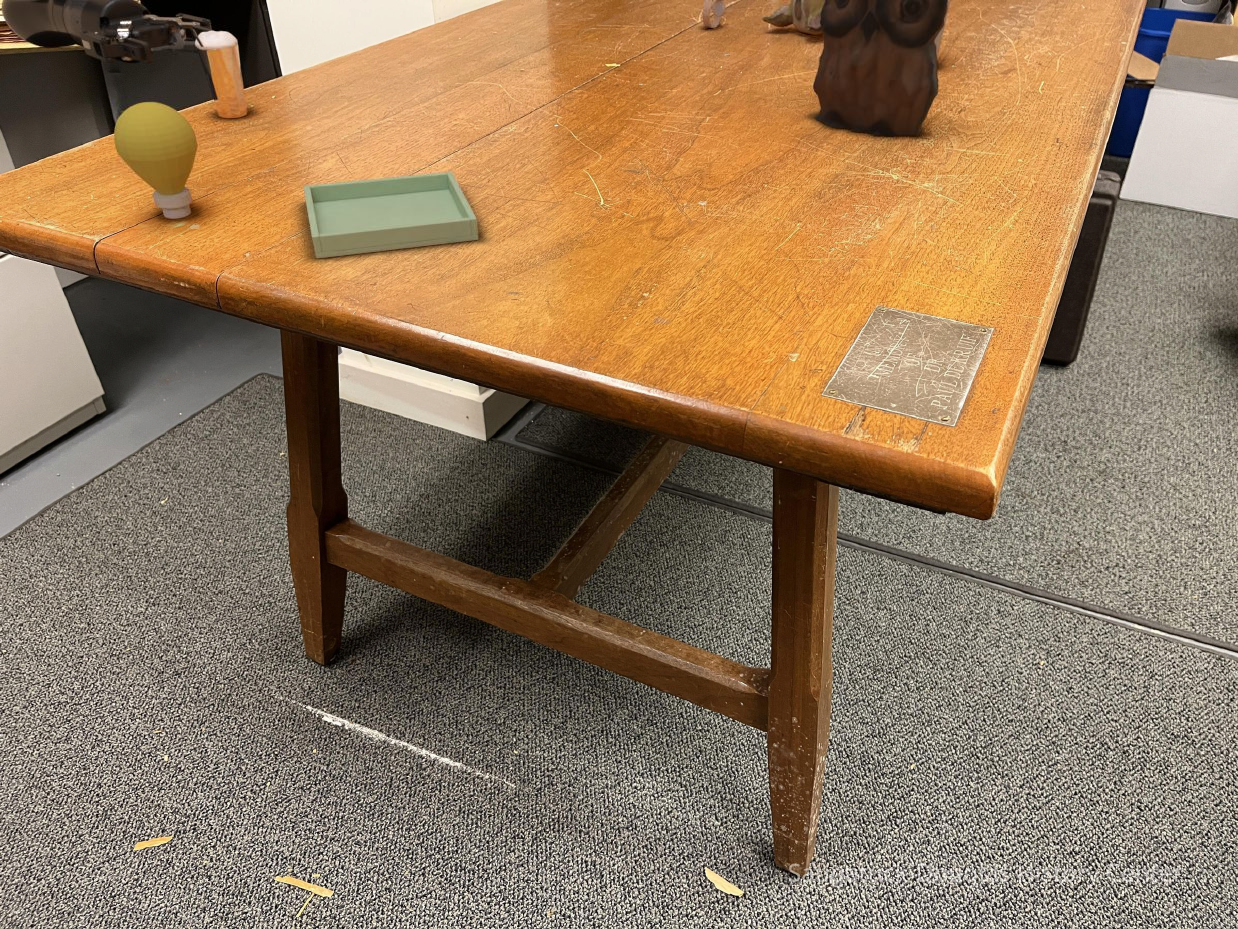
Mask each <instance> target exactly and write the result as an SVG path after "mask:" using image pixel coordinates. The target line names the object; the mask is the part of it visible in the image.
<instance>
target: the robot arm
mask: <svg viewBox="0 0 1238 929" xmlns="http://www.w3.org/2000/svg"><path fill="white" fill-rule="evenodd" d="M1 13H2V18H3V20H4V21H5V22H6V24H7V26H8V27H9V28H10V30H12V32H13V33H14V34H15V35H16V36H18V37H19V38H20V39H22V40H23V41H25V42H28V43H29V44H31V45H32V46H33V45H34V46H37V47H40V48H45V49H56V48H66V47H72V46H78V47H81V48H84V52H85V54H86V55H87V56H89V57H92V58H94V59H96V60H99V61H102V62H105V63H109V64H112V63H114V62H116V61H119V62H122V63H125V64H138V63H144V64H146V65H148V64H153V63H154V62H155V61H154V60H155V59H154V56H153V53H154V52H161V51H163V50H177V51H178V50H180V51H182V50H184V49H185V48H187V47H188V46H189V47H190V46H191V47H192V46H193V47H196V45H195V41H196V38H195V36H194V34H193V32H192V31H191V29H192V30H195V32H196V34H197V35H199V34H200V33H202V32H208V31H215V30H213V29H212V25H211V24H212V23H211V20H210V19H207V18H204V17H200V16H194V15H190V14H186V13H178V14H175V17H163V16H161V17H160V16H158V15H155V14H151V11H149V10H148V9H147V7H145V6H144V5H143V4H142V3H141V2H139V1H137V0H2V2H1ZM173 36H174V37H175V40H176V42H172V39H173Z"/></svg>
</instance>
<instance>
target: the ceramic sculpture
mask: <svg viewBox="0 0 1238 929" xmlns="http://www.w3.org/2000/svg"><path fill="white" fill-rule="evenodd" d="M824 3H825V0H791V1H790V2H789V4H783V5H781V7H780V8H779V7H778V8H776V10H775V11H773V13H772V14H770V15H769V16H764V17H762V21H763V22H764V23H767V24H770V25H772V26H773V27H777V28H785V27H789V26H791V25H793V27H794V29H796V30H797V31H799V32H801V33H803V34H808V35H809V34H810V35H813V36H818V35H822V27H821V25H820V17H821V11H822V8H823V5H824Z"/></svg>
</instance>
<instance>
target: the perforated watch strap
mask: <svg viewBox="0 0 1238 929" xmlns="http://www.w3.org/2000/svg"><path fill="white" fill-rule="evenodd" d="M711 12H712V14H713V15H714V16H713V19H712V22H711V19H710V18H711ZM726 12H727V6H726V3H725V2H724V0H705V1H704V3H703V7H702V12H701V15H702V24H703V25H704V27H706V28H710V29H716V28H717V27H718V26H719V25H720V22H721V21H722V19H723V16H724V15H725V14H726Z"/></svg>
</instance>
